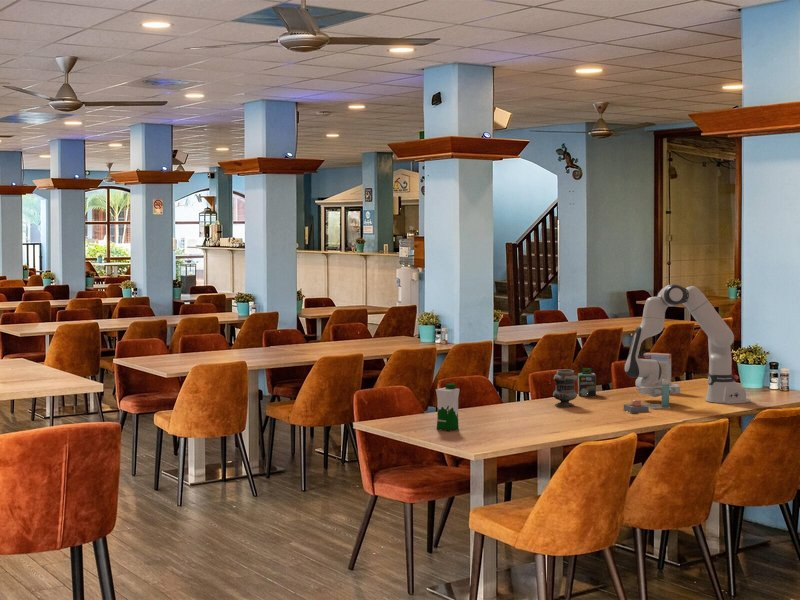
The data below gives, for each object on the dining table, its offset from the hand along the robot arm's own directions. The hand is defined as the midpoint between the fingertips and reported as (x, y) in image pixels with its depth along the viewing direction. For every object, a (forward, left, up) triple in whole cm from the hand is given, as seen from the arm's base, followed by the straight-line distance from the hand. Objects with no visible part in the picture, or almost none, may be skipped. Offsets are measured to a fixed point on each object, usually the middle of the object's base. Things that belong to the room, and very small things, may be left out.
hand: (666, 391), depth 500 cm
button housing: (+18, +5, -8) cm, 20 cm away
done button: (+18, +5, -7) cm, 20 cm away
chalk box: (+23, -48, -9) cm, 54 cm away
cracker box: (-20, -54, -9) cm, 58 cm away
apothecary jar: (+46, -18, -9) cm, 50 cm away
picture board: (+6, -5, -8) cm, 11 cm away
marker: (0, -1, -8) cm, 8 cm away
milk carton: (+118, +31, -9) cm, 122 cm away
